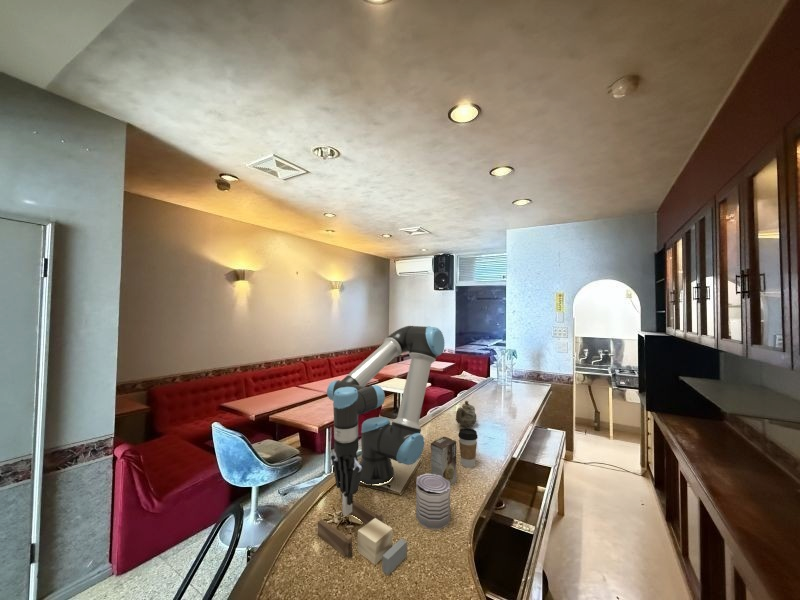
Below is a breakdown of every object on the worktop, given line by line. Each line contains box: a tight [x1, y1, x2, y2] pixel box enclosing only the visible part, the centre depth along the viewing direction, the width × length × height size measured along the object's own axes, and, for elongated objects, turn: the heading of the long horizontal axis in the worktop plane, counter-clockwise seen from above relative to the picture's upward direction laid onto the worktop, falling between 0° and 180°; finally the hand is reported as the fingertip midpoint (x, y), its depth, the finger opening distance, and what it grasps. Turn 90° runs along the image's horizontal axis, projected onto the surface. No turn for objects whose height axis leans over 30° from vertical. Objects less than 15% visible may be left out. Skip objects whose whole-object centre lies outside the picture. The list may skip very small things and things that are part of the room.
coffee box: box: [430, 436, 457, 486], centre depth 123 cm, size 9×6×16 cm
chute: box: [317, 499, 384, 560], centre depth 95 cm, size 14×14×5 cm
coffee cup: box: [458, 427, 478, 469], centre depth 137 cm, size 8×8×15 cm
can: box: [415, 473, 451, 530], centre depth 102 cm, size 11×11×12 cm
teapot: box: [455, 400, 477, 428], centre depth 181 cm, size 21×12×15 cm, turn 144°
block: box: [357, 518, 393, 566], centre depth 88 cm, size 7×7×6 cm
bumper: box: [381, 537, 408, 576], centre depth 84 cm, size 8×2×4 cm, turn 141°
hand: (347, 512), depth 97 cm, fingers closed
